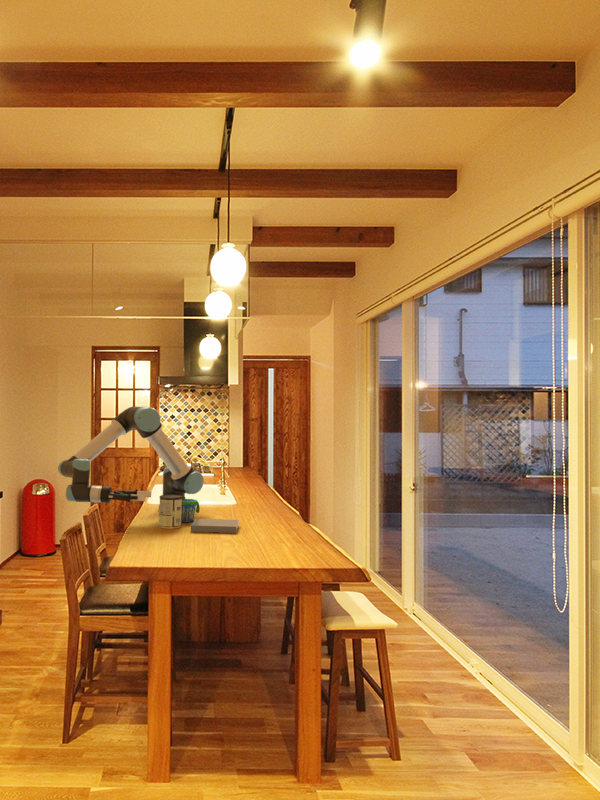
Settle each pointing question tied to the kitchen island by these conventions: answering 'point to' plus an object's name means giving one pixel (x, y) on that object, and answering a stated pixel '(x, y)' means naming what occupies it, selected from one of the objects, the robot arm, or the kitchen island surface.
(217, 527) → the slate plinth
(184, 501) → the snack cup
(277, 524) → the kitchen island surface
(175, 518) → the coffee can
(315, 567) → the kitchen island surface
